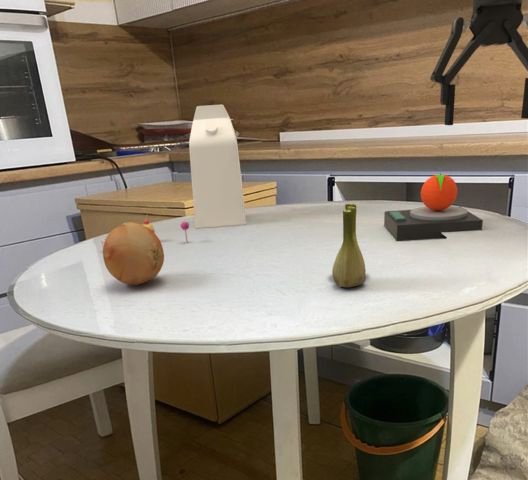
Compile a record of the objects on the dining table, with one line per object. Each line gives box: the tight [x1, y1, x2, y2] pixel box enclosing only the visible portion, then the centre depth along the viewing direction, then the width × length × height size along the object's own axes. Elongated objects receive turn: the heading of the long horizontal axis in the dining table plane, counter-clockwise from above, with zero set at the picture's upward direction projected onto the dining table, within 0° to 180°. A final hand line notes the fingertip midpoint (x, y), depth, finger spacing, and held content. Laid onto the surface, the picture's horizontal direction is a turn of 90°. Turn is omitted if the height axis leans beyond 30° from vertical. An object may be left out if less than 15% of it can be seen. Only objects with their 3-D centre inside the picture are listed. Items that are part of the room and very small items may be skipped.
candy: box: [100, 215, 190, 248], centre depth 112 cm, size 18×8×6 cm, turn 109°
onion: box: [102, 221, 165, 286], centre depth 87 cm, size 10×10×10 cm
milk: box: [188, 104, 247, 229], centre depth 125 cm, size 12×12×26 cm
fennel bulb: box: [331, 203, 367, 288], centre depth 78 cm, size 6×5×12 cm
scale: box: [383, 205, 484, 242], centre depth 108 cm, size 16×14×4 cm
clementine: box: [420, 173, 458, 211], centre depth 105 cm, size 8×7×7 cm
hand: (487, 122), depth 95 cm, fingers open, 13 cm apart
